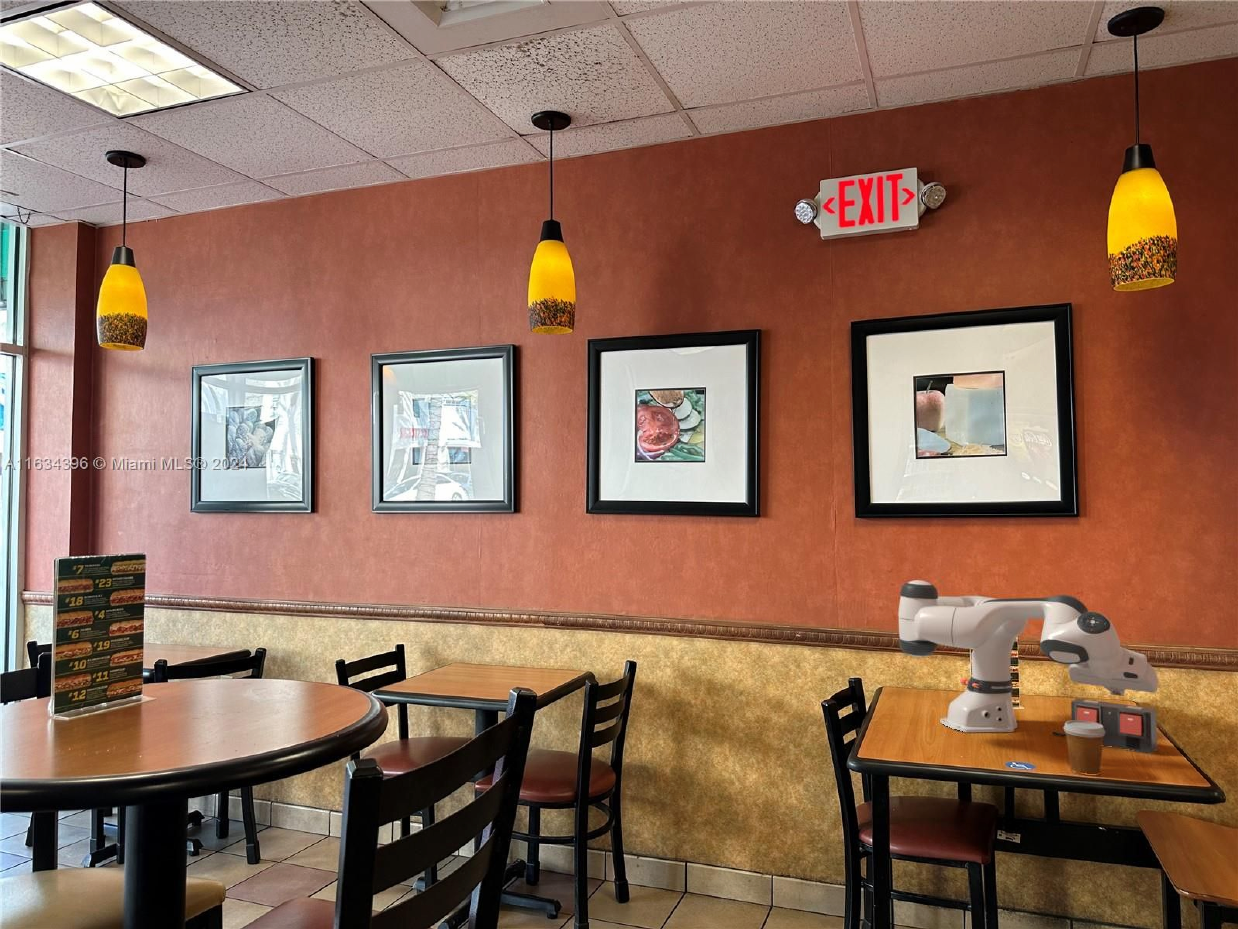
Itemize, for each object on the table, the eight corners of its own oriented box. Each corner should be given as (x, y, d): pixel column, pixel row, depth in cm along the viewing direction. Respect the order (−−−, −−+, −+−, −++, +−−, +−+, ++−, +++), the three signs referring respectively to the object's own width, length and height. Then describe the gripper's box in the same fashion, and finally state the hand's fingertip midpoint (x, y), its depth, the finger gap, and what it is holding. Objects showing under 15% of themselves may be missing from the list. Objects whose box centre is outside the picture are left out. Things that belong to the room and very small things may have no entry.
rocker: (1097, 728, 245) (1097, 710, 247) (1095, 728, 245) (1096, 710, 246) (1077, 725, 249) (1078, 707, 250) (1076, 725, 248) (1077, 707, 249)
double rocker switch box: (1157, 749, 242) (1155, 708, 242) (1151, 755, 237) (1149, 712, 237) (1056, 733, 260) (1055, 694, 260) (1049, 737, 255) (1048, 698, 255)
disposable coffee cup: (1105, 780, 216) (1104, 731, 217) (1062, 774, 221) (1061, 726, 222) (1107, 770, 224) (1106, 722, 225) (1066, 764, 229) (1065, 718, 230)
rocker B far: (1142, 735, 238) (1141, 716, 239) (1140, 735, 237) (1140, 716, 238) (1121, 732, 242) (1121, 713, 242) (1120, 732, 241) (1120, 713, 241)
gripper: (1060, 666, 230) (1073, 697, 237) (1149, 676, 216) (1160, 709, 223) (1065, 646, 233) (1077, 678, 240) (1153, 655, 219) (1163, 689, 226)
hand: (1118, 693), depth 231 cm, fingers closed
